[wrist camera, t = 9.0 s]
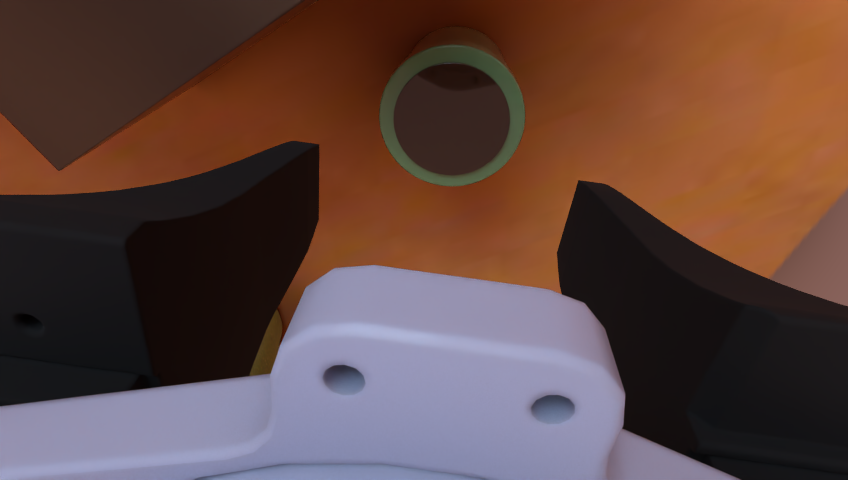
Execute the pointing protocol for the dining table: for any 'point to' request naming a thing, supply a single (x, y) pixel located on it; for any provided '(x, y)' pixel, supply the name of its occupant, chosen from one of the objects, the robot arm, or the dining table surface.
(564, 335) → the robot arm
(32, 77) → the cabinet
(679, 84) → the dining table surface
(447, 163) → the green pot
